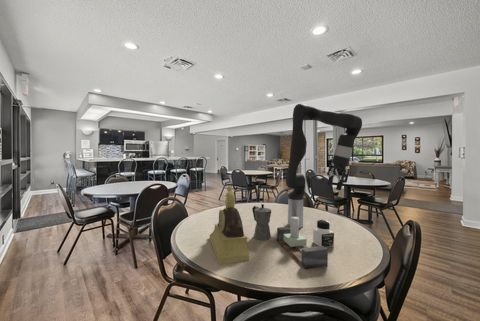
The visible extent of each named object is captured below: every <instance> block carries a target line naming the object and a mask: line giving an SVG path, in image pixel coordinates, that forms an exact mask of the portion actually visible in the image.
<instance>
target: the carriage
mask: <svg viewBox="0 0 480 321" xmlns="http://www.w3.org/2000/svg"><path fill="white" fill-rule="evenodd" d="M289 227H290V226H289ZM283 240H284V241H285V242H286V243H287V244H288V245H289V246H290V247H295V246H304V245H306V246H307V238H306V237H305V236H303V235H302V234H300V228H299V218H298V217H291V227H290V234H283Z"/></svg>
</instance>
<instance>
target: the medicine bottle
mask: <svg viewBox="0 0 480 321" xmlns="http://www.w3.org/2000/svg"><path fill="white" fill-rule="evenodd" d="M312 231H313V232H312V233H313V234H312V243H314V244H315V245H317V247H319V246H324V247H325V248H331V247H334V246H335V232H334V231H332V230H331V223H330V221H328V220H326V219H319V220H317V221H316V228H313V229H312Z"/></svg>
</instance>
